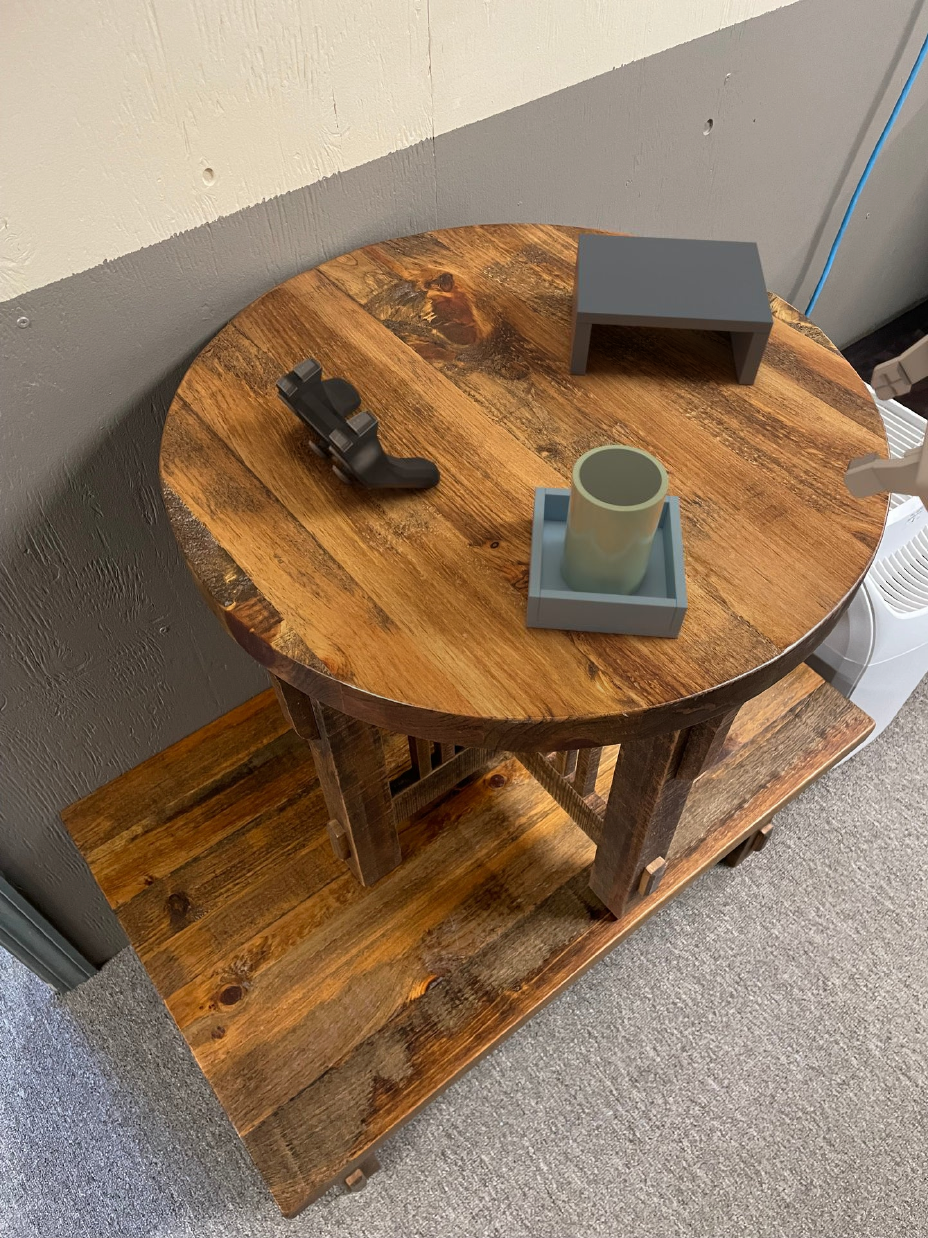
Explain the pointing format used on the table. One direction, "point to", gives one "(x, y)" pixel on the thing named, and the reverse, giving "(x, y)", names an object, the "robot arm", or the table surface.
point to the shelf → (671, 292)
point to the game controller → (349, 431)
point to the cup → (612, 519)
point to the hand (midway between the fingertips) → (863, 430)
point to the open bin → (639, 614)
